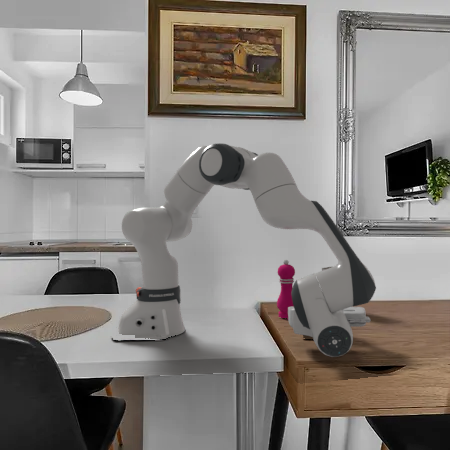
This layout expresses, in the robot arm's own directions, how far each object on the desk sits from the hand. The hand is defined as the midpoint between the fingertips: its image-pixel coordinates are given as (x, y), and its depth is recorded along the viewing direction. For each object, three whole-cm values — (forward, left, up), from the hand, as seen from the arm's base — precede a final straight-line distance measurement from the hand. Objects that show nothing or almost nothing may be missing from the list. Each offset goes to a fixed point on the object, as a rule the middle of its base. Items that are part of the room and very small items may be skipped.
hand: (324, 308), depth 108 cm
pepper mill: (-3, +24, -8) cm, 26 cm away
